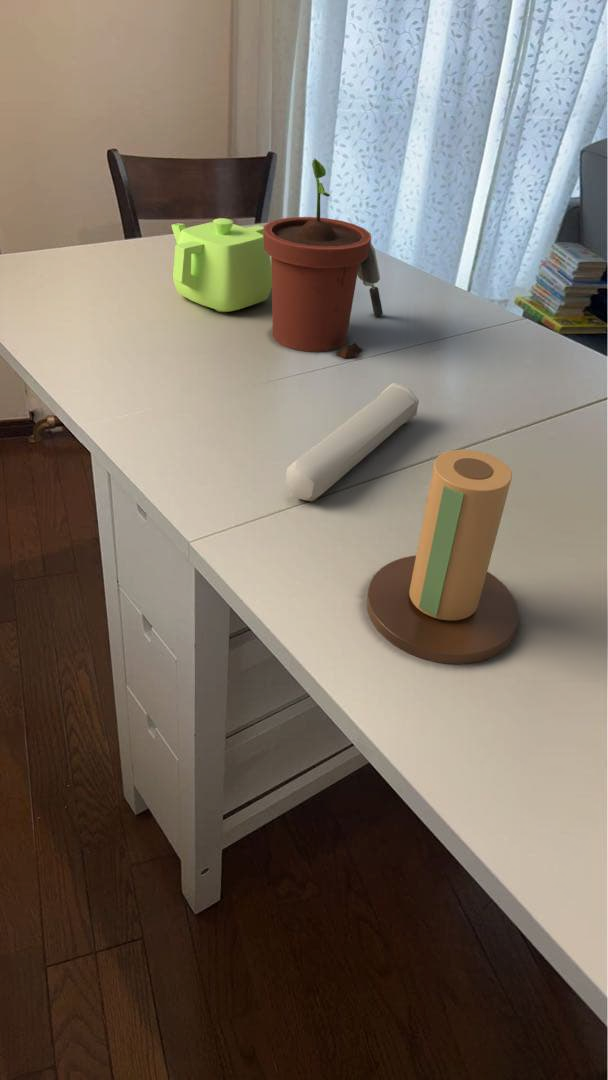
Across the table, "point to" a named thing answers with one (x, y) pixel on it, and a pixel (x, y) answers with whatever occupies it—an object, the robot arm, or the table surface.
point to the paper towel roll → (458, 533)
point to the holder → (436, 636)
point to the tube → (350, 442)
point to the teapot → (221, 265)
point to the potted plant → (318, 278)
